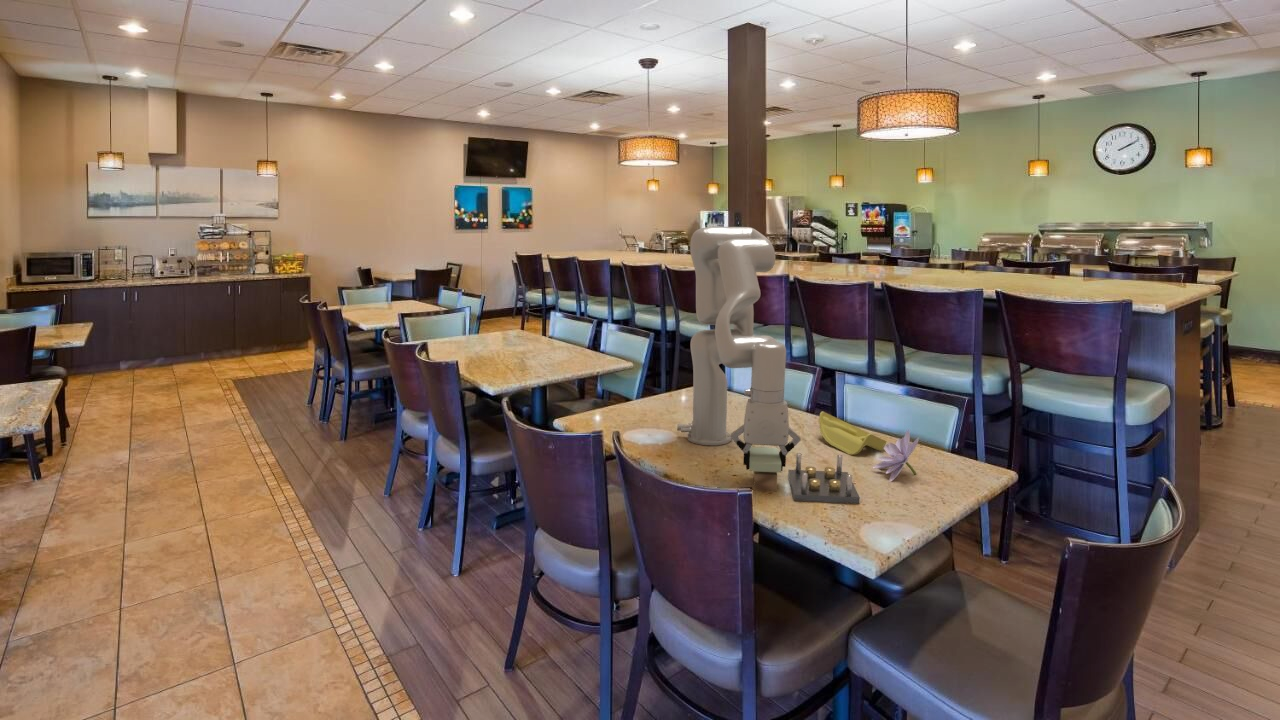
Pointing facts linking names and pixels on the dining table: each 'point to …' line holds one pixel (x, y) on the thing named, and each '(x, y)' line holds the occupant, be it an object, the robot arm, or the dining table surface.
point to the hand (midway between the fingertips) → (764, 467)
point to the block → (765, 481)
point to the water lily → (898, 456)
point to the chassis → (822, 484)
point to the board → (765, 459)
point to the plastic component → (847, 435)
